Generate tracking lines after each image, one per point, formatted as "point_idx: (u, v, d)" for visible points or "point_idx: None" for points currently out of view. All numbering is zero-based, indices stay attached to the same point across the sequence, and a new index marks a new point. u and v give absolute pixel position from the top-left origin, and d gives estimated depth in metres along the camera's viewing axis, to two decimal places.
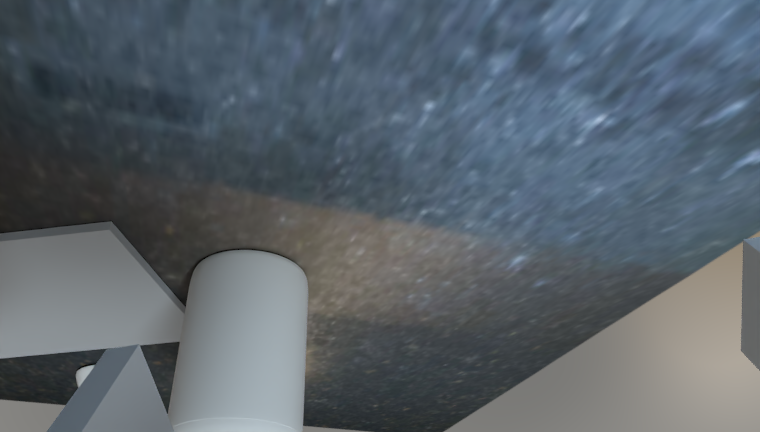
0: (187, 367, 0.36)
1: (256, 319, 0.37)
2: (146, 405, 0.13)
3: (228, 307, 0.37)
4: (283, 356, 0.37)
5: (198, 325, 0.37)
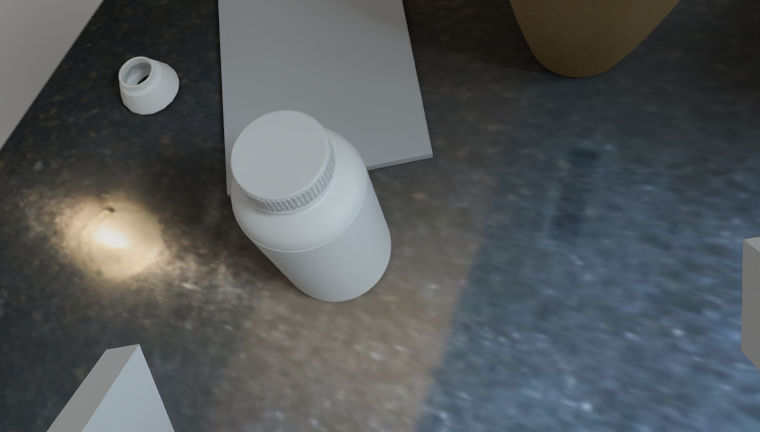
0: None
1: (378, 241, 0.39)
2: (146, 405, 0.13)
3: (383, 221, 0.40)
4: (356, 256, 0.37)
5: None
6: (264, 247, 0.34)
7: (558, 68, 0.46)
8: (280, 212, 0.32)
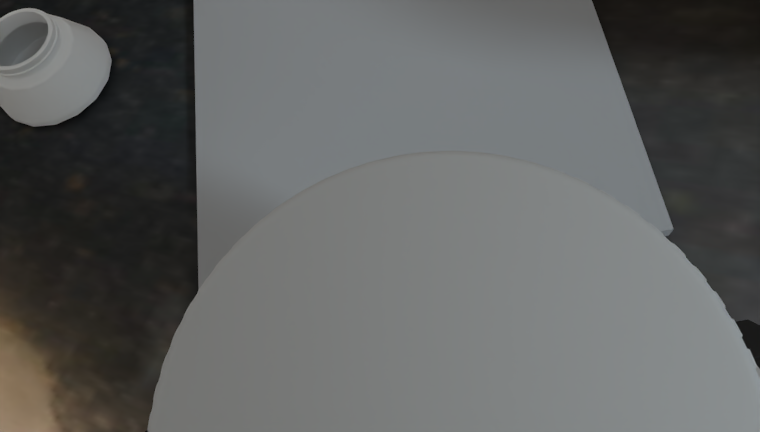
0: None
1: None
2: None
3: None
4: None
5: None
6: None
7: None
8: None
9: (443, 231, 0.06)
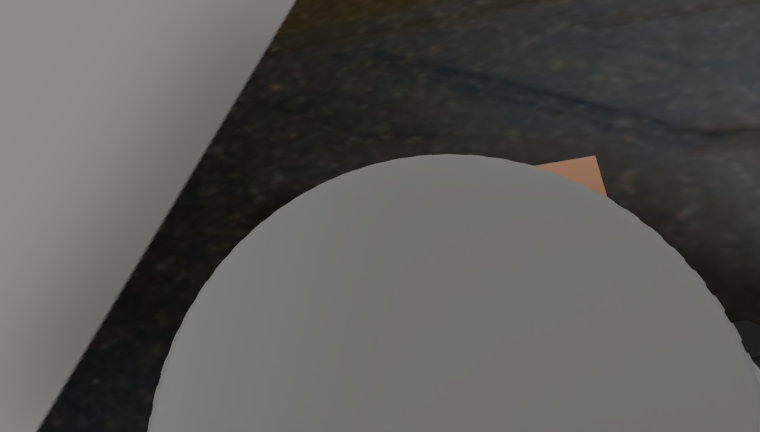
0: None
1: None
2: None
3: None
4: None
5: None
6: None
7: None
8: None
9: (443, 235, 0.06)
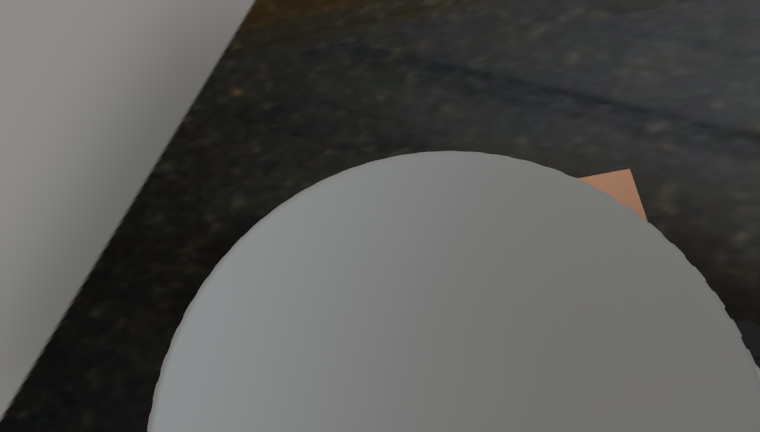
0: None
1: None
2: None
3: None
4: None
5: None
6: None
7: None
8: None
9: (443, 231, 0.06)
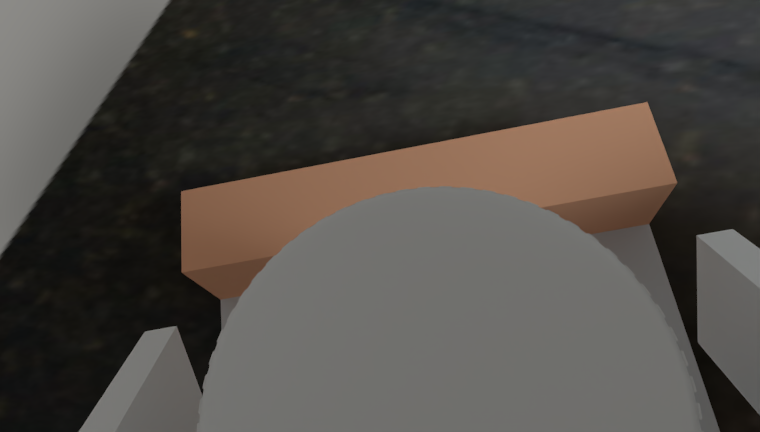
0: None
1: None
2: (184, 385, 0.14)
3: None
4: None
5: None
6: None
7: None
8: None
9: (439, 253, 0.07)
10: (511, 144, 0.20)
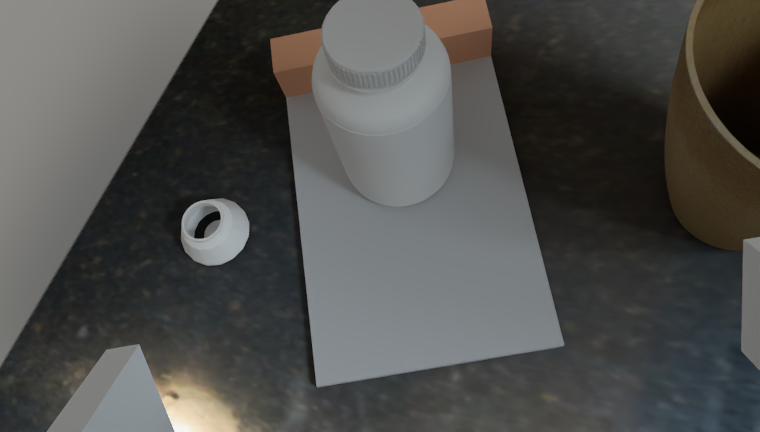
0: None
1: (449, 139, 0.39)
2: (146, 405, 0.13)
3: None
4: (432, 149, 0.37)
5: None
6: (348, 132, 0.34)
7: (714, 244, 0.39)
8: (371, 90, 0.32)
9: (373, 0, 0.31)
10: (422, 14, 0.45)
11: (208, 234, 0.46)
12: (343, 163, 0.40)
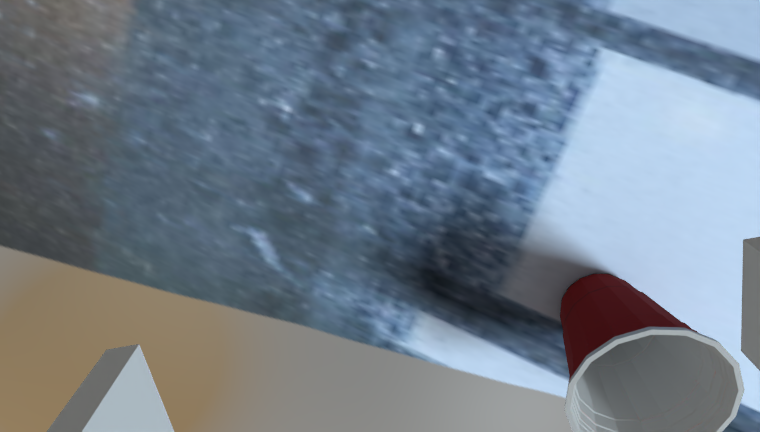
0: None
1: None
2: (146, 405, 0.13)
3: None
4: None
5: None
6: None
7: None
8: None
9: None
10: None
11: None
12: None
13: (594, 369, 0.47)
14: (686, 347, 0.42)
